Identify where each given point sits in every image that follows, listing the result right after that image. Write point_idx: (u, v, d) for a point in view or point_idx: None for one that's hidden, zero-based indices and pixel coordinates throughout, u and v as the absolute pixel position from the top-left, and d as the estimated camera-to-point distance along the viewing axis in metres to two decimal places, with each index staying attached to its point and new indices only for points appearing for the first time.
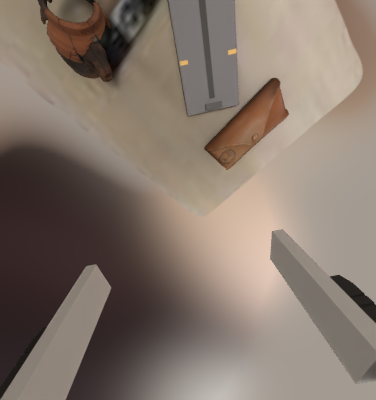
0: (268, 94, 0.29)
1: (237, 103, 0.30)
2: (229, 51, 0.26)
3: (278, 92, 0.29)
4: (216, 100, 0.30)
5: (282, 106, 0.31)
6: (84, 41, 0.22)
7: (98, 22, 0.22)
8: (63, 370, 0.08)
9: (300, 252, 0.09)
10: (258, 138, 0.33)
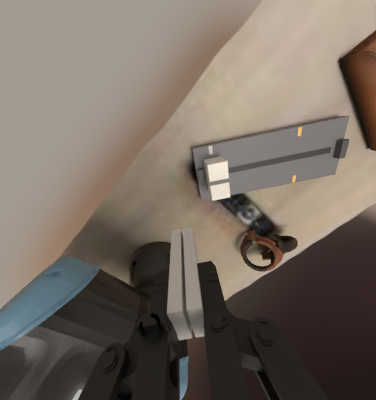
0: (372, 67, 0.22)
1: (347, 118, 0.25)
2: (298, 135, 0.26)
3: (375, 48, 0.21)
4: (334, 144, 0.27)
5: None
6: (279, 253, 0.33)
7: (269, 243, 0.33)
8: None
9: (190, 244, 0.11)
10: None
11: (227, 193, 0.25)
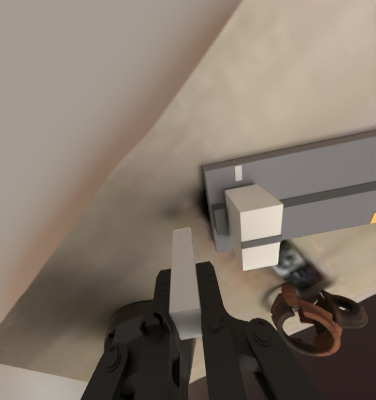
0: None
1: None
2: None
3: None
4: None
5: None
6: (338, 331, 0.21)
7: (324, 317, 0.21)
8: None
9: (188, 244, 0.11)
10: None
11: (273, 259, 0.13)
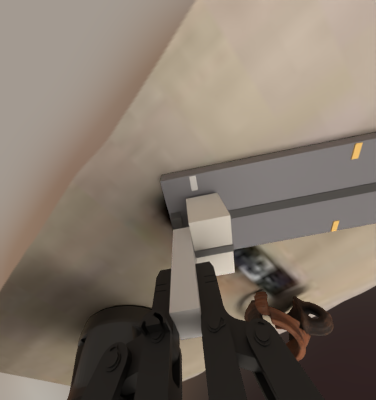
0: None
1: None
2: (353, 157, 0.14)
3: None
4: None
5: None
6: (305, 338, 0.21)
7: (291, 325, 0.21)
8: None
9: (188, 244, 0.11)
10: None
11: (229, 267, 0.13)
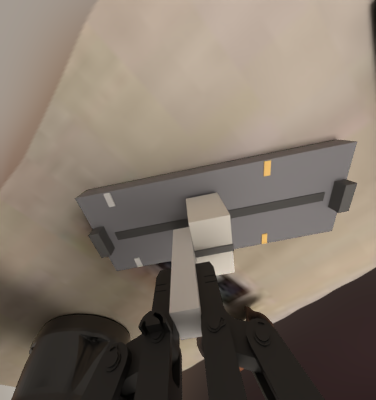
0: None
1: (353, 145, 0.14)
2: (265, 174, 0.14)
3: None
4: (329, 188, 0.16)
5: None
6: None
7: None
8: None
9: (188, 244, 0.11)
10: None
11: (229, 267, 0.13)
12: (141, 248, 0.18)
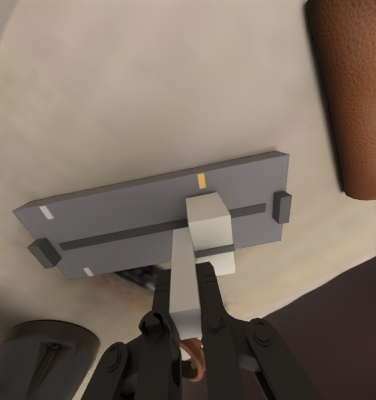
0: (368, 20, 0.09)
1: (286, 157, 0.14)
2: (201, 186, 0.14)
3: None
4: (270, 199, 0.16)
5: None
6: None
7: (190, 346, 0.22)
8: None
9: (188, 244, 0.11)
10: None
11: (230, 267, 0.13)
12: (88, 258, 0.18)
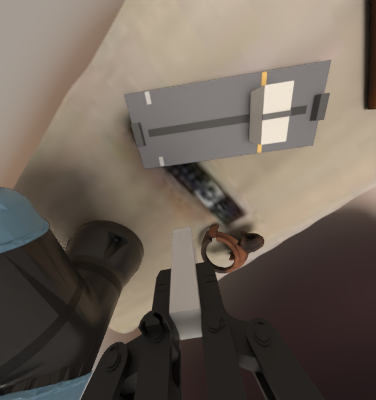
0: None
1: (328, 62, 0.19)
2: (262, 84, 0.20)
3: None
4: (311, 102, 0.21)
5: None
6: (241, 253, 0.28)
7: (230, 241, 0.28)
8: None
9: (188, 244, 0.11)
10: None
11: (283, 135, 0.18)
12: (165, 147, 0.23)
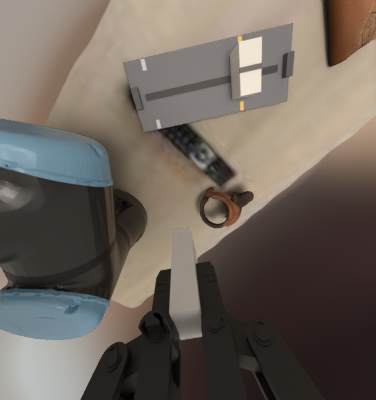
0: None
1: (291, 25, 0.23)
2: None
3: None
4: (280, 61, 0.25)
5: None
6: (234, 207, 0.32)
7: (223, 197, 0.32)
8: None
9: (188, 244, 0.11)
10: None
11: (258, 86, 0.22)
12: (160, 110, 0.27)
